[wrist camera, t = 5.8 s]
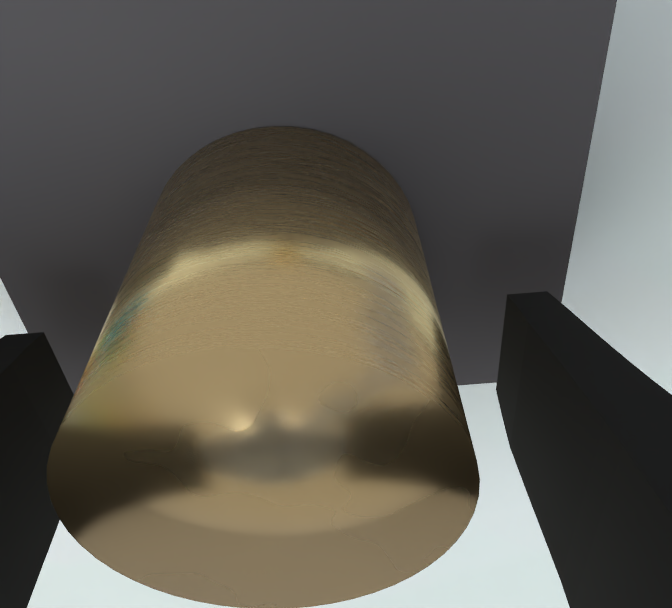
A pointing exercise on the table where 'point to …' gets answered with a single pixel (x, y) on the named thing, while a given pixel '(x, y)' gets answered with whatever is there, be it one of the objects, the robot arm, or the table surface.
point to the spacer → (270, 388)
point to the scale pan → (304, 112)
